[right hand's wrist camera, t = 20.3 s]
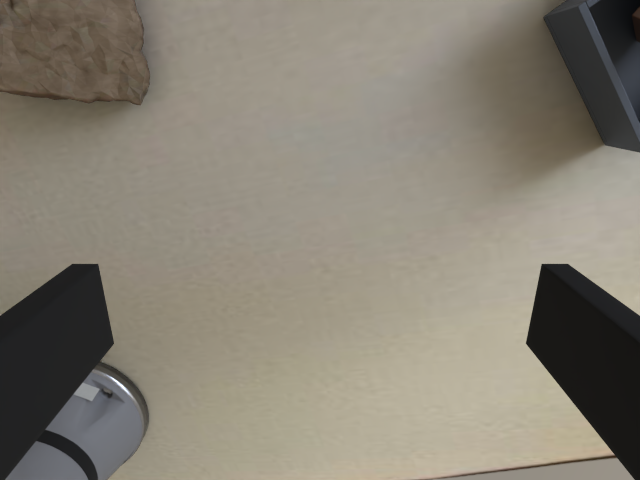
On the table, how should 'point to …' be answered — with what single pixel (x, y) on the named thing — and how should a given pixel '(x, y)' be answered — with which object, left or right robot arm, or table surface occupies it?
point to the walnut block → (636, 23)
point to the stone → (73, 50)
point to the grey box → (603, 63)
